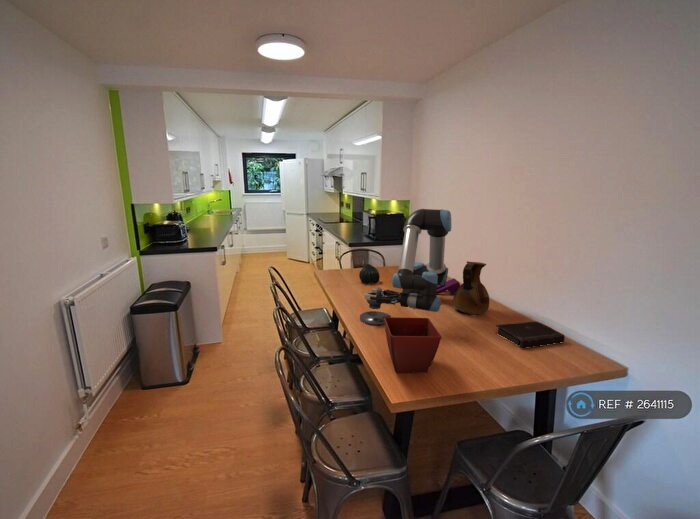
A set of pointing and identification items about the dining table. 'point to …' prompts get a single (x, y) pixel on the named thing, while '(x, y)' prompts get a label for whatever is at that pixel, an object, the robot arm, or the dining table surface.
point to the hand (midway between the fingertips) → (368, 293)
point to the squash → (369, 274)
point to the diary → (530, 334)
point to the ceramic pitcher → (472, 291)
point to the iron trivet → (374, 318)
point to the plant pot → (411, 343)
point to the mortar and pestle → (373, 303)
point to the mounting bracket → (449, 287)
